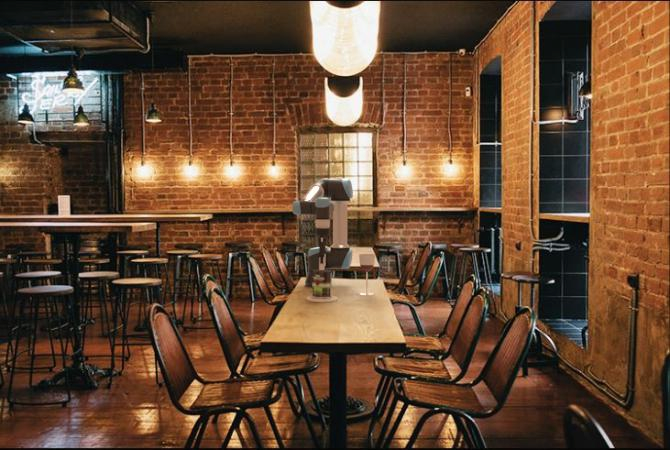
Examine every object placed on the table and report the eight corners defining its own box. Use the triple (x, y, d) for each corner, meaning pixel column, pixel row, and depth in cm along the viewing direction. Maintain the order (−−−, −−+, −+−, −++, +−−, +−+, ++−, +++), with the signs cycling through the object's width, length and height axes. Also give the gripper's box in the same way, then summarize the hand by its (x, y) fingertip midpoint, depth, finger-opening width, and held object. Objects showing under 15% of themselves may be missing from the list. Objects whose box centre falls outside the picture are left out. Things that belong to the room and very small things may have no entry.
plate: (307, 296, 321) (307, 294, 321) (337, 297, 321) (337, 294, 321) (305, 302, 305) (305, 299, 305) (336, 302, 305) (336, 299, 305)
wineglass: (374, 292, 337) (375, 253, 336) (374, 295, 327) (374, 255, 326) (359, 292, 338) (359, 253, 337) (358, 295, 328) (358, 255, 327)
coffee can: (325, 299, 306) (326, 272, 305) (308, 297, 311) (308, 270, 310) (335, 296, 315) (335, 269, 314) (318, 294, 320) (318, 268, 319)
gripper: (316, 225, 324) (316, 264, 325) (313, 229, 299) (313, 271, 300) (330, 225, 324) (330, 264, 325) (328, 229, 299) (328, 271, 300)
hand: (322, 268), depth 313 cm, fingers open, 13 cm apart
